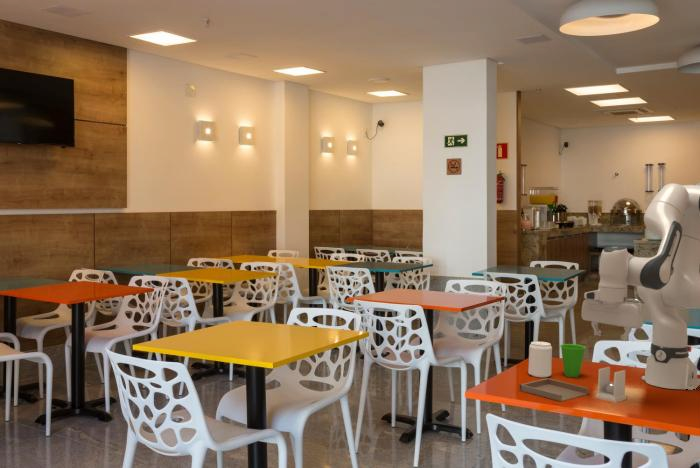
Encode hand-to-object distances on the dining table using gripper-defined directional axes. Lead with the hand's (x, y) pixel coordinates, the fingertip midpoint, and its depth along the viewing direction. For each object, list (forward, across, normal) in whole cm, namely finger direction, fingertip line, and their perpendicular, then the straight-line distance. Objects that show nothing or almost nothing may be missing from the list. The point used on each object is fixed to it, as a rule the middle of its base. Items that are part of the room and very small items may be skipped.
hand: (610, 338), depth 222 cm
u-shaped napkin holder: (+20, 0, -1) cm, 20 cm away
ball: (+17, -1, -1) cm, 17 cm away
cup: (+20, +25, -16) cm, 36 cm away
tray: (+20, +14, +9) cm, 26 cm away
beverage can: (+20, +32, -6) cm, 38 cm away
